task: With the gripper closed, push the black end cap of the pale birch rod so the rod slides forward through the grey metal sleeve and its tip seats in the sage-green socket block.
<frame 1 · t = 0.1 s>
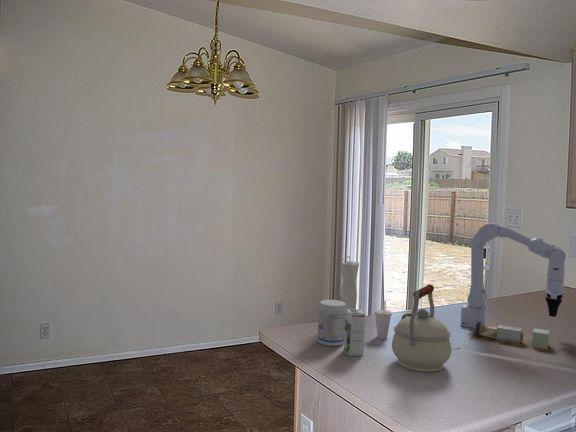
hand: (552, 314, 192), 10 cm above the counter, fingers open, 7 cm apart
food container: (417, 342, 184), on the counter
supplement tub: (330, 343, 179), on the counter
smoothie: (382, 337, 188), on the counter
white bottle: (346, 326, 202), on the counter
walnut board: (510, 343, 186), on the counter
syrup box: (353, 353, 168), on the counter
socket block: (540, 345, 181), resting on walnut board
metal sleeve: (508, 340, 186), resting on walnut board
slip rod: (499, 332, 188), point 4 cm above the counter, slide at 0.0 cm
kettle: (421, 363, 161), on the counter
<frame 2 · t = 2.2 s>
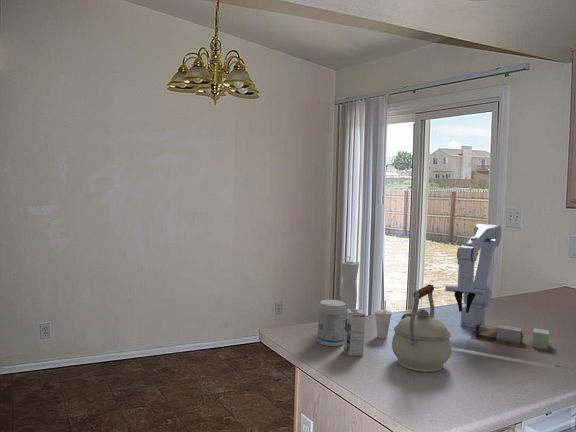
hand: (463, 311, 194), 9 cm above the counter, fingers closed
nothing on the counter moved.
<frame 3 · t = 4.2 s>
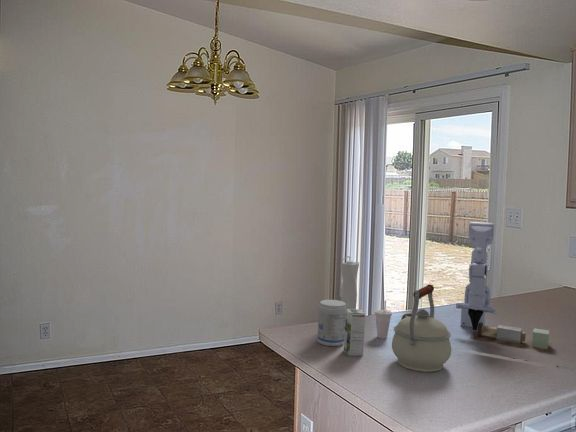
hand: (474, 329, 192), 3 cm above the counter, fingers closed
slip rod: (501, 332, 187), point 4 cm above the counter, slide at 0.7 cm, touching gripper
everything else where it was.
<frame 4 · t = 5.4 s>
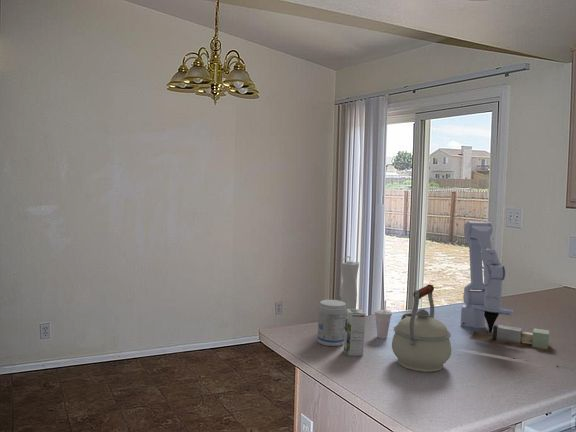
hand: (490, 331, 189), 3 cm above the counter, fingers closed
slip rod: (517, 335, 185), point 4 cm above the counter, slide at 6.1 cm, touching gripper
everything else where it was.
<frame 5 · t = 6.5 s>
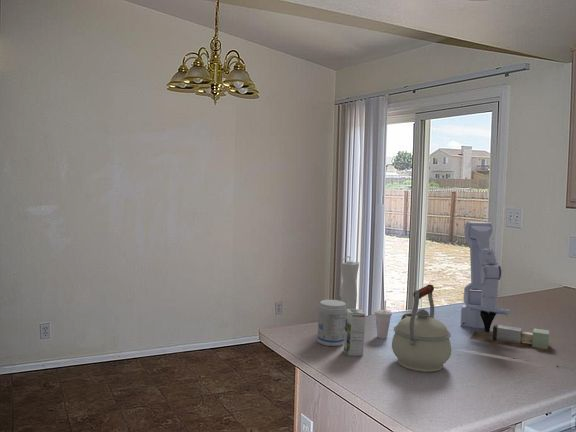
hand: (487, 331, 190), 3 cm above the counter, fingers closed
slip rod: (516, 335, 185), point 4 cm above the counter, slide at 6.0 cm
everything else where it was.
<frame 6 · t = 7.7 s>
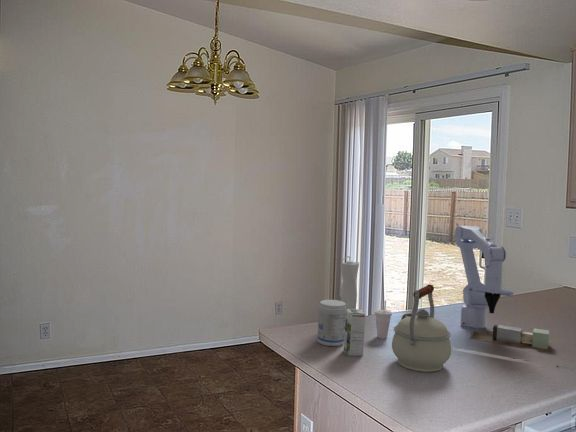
hand: (491, 312, 193), 10 cm above the counter, fingers closed
nothing on the counter moved.
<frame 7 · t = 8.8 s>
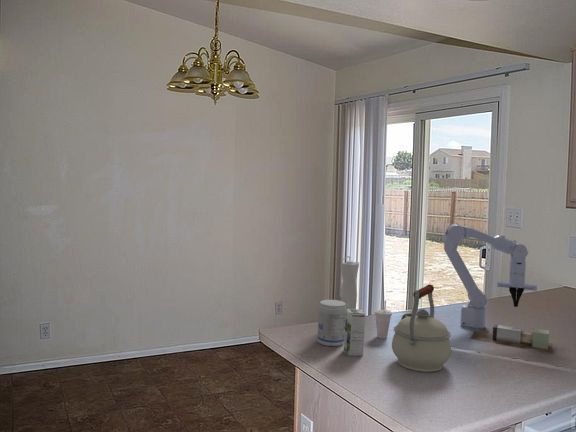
hand: (515, 306, 202), 10 cm above the counter, fingers closed
nothing on the counter moved.
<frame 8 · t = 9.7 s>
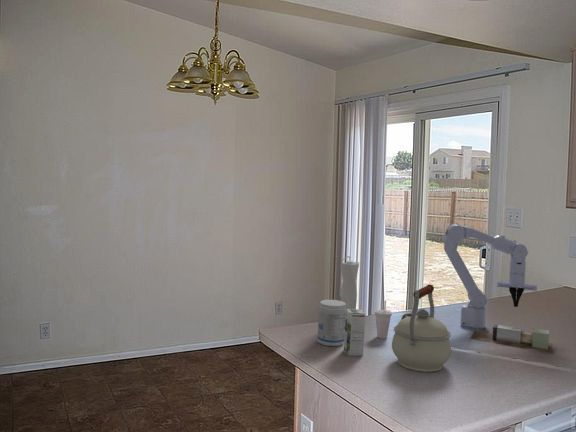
hand: (515, 306, 202), 10 cm above the counter, fingers closed
nothing on the counter moved.
at the end: slip rod slide at 6.0 cm; the gripper is holding nothing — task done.
